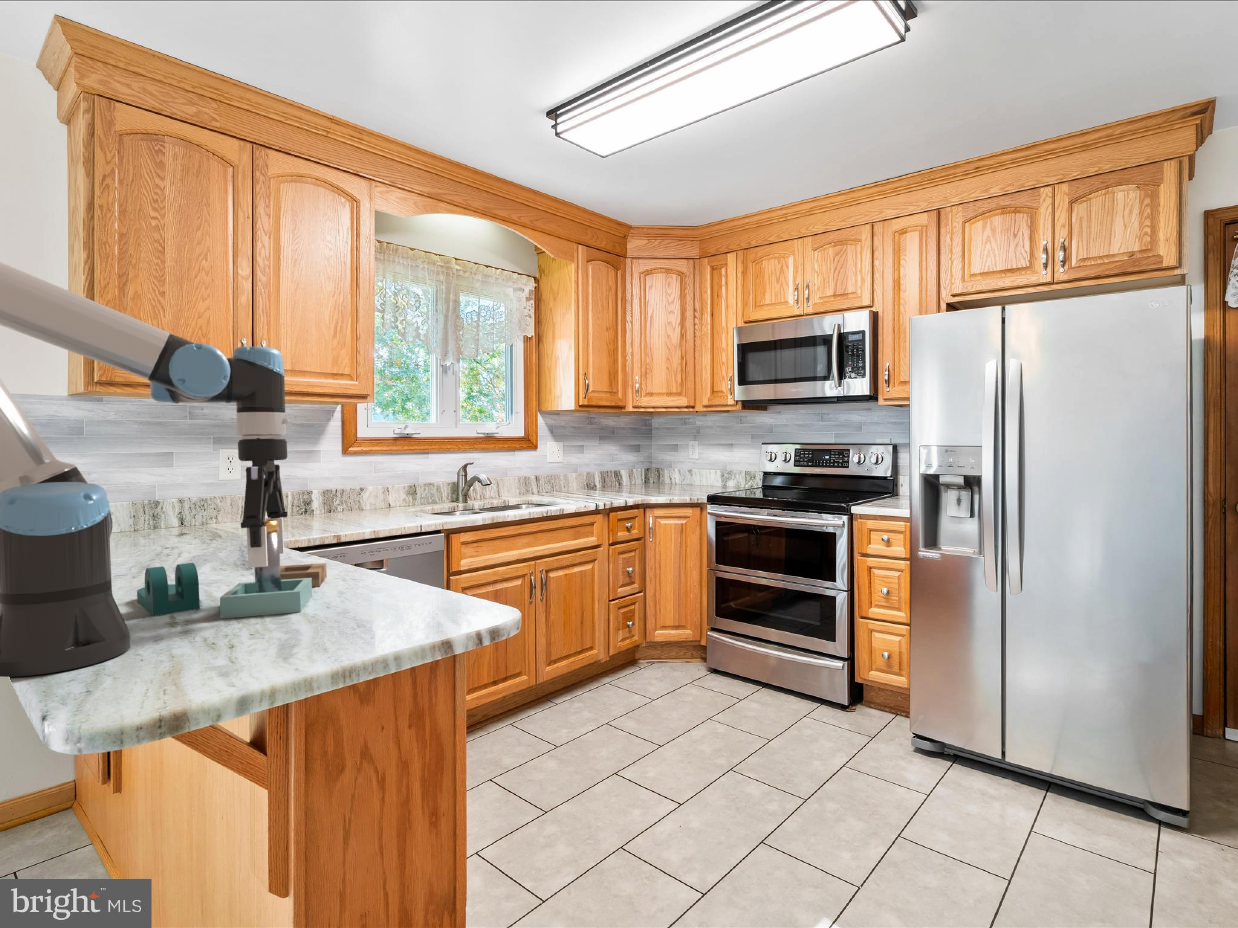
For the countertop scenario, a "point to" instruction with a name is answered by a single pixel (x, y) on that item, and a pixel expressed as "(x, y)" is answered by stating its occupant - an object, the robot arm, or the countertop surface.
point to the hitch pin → (270, 562)
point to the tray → (266, 599)
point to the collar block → (305, 572)
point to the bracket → (170, 590)
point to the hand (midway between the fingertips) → (267, 560)
